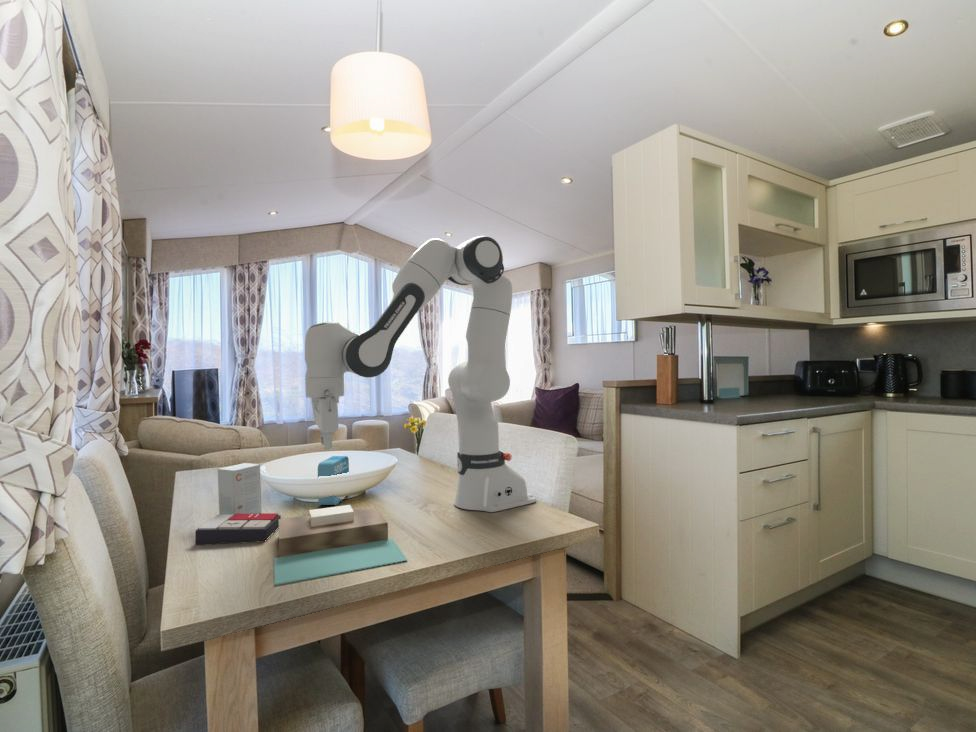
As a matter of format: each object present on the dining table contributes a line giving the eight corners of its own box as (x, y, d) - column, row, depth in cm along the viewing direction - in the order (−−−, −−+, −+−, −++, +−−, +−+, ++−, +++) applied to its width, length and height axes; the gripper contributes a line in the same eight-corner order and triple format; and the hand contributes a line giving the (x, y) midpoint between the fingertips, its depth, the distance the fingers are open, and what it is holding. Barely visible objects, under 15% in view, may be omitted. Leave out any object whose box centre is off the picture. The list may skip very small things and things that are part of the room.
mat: (392, 539, 109) (392, 538, 109) (407, 561, 97) (407, 559, 97) (274, 559, 100) (274, 558, 100) (274, 585, 88) (274, 584, 88)
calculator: (265, 526, 110) (194, 526, 109) (265, 545, 110) (194, 546, 109) (281, 511, 121) (216, 511, 120) (280, 529, 121) (216, 529, 120)
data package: (334, 507, 136) (333, 463, 135) (318, 507, 136) (317, 463, 136) (349, 495, 148) (348, 455, 147) (335, 495, 148) (334, 455, 148)
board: (375, 522, 122) (375, 506, 122) (388, 540, 109) (387, 522, 109) (278, 536, 113) (278, 519, 113) (279, 558, 100) (279, 539, 100)
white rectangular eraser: (350, 513, 116) (349, 504, 116) (353, 520, 111) (353, 511, 111) (309, 518, 113) (309, 510, 113) (311, 526, 107) (311, 517, 107)
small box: (246, 510, 134) (244, 462, 134) (262, 513, 132) (260, 464, 131) (218, 519, 127) (216, 468, 127) (234, 522, 124) (233, 470, 124)
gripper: (344, 390, 110) (345, 452, 111) (333, 387, 129) (335, 440, 129) (314, 392, 108) (316, 455, 108) (308, 388, 127) (309, 442, 127)
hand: (326, 446), depth 119 cm, fingers open, 6 cm apart
